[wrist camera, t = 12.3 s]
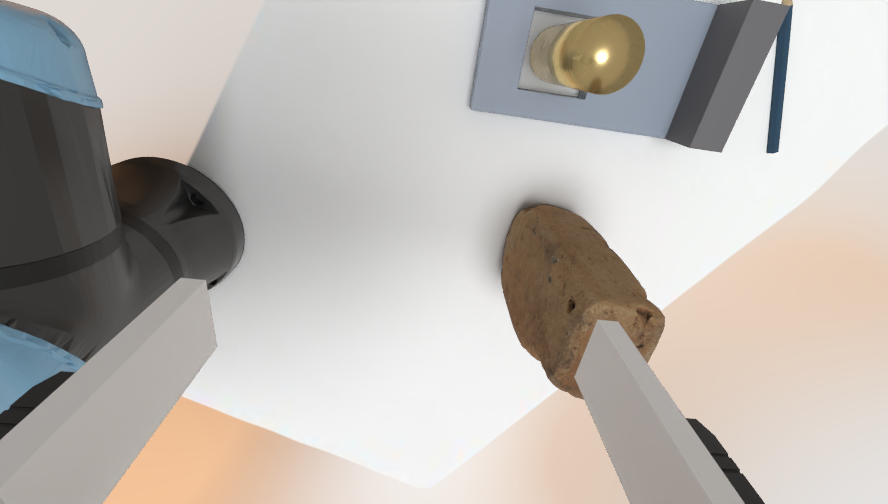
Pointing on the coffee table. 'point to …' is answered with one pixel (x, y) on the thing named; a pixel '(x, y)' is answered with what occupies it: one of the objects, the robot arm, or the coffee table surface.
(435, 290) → the coffee table surface
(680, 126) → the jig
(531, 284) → the block
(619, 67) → the brass cylinder rod
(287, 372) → the coffee table surface
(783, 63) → the pencil
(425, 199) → the coffee table surface
